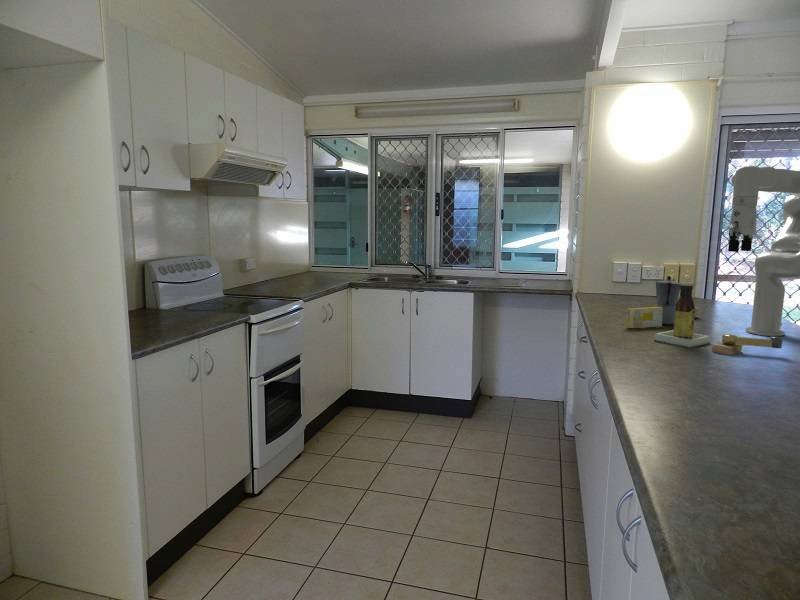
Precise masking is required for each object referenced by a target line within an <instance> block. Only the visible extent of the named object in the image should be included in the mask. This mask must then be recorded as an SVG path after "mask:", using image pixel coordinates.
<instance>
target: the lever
mask: <svg viewBox="0 0 800 600" xmlns="http://www.w3.org/2000/svg"><path fill="white" fill-rule="evenodd" d="M783 340H784V339H783V337H782V336H770V339H767V338H756V337H744V336H743V337H742V336H737V335H736V334H730V333H729V334H728V333H724V334H722V339H721V342H722V343H725V344H739V345H742V346H753V347H763V348H773V349H782V347H783Z"/></svg>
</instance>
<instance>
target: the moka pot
mask: <svg viewBox="0 0 800 600" xmlns="http://www.w3.org/2000/svg"><path fill="white" fill-rule="evenodd" d="M666 278H667V279H665V280H659V281H658V280H657V281H655V291H656V293H655V297H656V301H657V302H656V303H657V304H656V307H663V311H662V325H674V317H675V308H676V302H677V301H678V298H679V295H680V285H682V283H680V282H677V281H675V280H671V278H672V276H670V275H668V276H667V277H666Z"/></svg>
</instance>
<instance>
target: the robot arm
mask: <svg viewBox="0 0 800 600" xmlns="http://www.w3.org/2000/svg"><path fill="white" fill-rule="evenodd" d="M731 184H732V186H733V190H732V191H733V192H732V201H731V208H732V209H731V210H732V211H731V216H730V221H729V222H730V223H729V227H728V232H729V233H728V249H727V252H730V253H732V252H733V253H735V252H736V253H737V252H739V249H740V251H741V252H751V251H752V244H753V240H754V237H753V236H754V235H755V233H756V232H757V231H756V230H757V207H758V199H759V198H758V197H759V192H764V193H765V192H766V193H779V194H780V193H782V194H790V195H788V196H786V198H784V200H783V203H782V213H783V226H782V228H781V229H780V231H779V232H778V233H777V235H776V236H775V238H774V240H773V241H772V244H771V247H770V249H771V251H765V252H762V253H759V254H758V255H757V256H756V258H755V260H754V272H755V284H754V286H755V287H754V294H753V295H754V298H753V305H752V312H751V313H752V314H751V315H752V316H751V325H750V327H746V328H745V332H746V333H749V334H753V335H757V336H758V335H759V336H764V337H765V336H767V337H772V336H775V337H783V336H782V335H784V336H785V335H786V332H785V331H784V330H781V329H782V328H781V327H782V325H783V323H782V320H783V319H782V318H783V312H784V311H783V309H784V301H785V292H786V289H785V288H786V287H785V285H784V283H783V281H782V280H781V278H782V279H784V278H785V279H796V280H800V170H792V169H786V168H775V167H772V166H760V167H759V166H754V165H753V166H752V165H747V166H739V167H738V168H736V169H735V171H734V173H733V174H732V176H731ZM740 237H742V239H741V245H740Z"/></svg>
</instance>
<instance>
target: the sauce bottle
mask: <svg viewBox="0 0 800 600" xmlns="http://www.w3.org/2000/svg"><path fill="white" fill-rule="evenodd" d="M693 290H694V286H693V284H681V285H680V291H679V295H680V298H679V297H678V298H679V300H677V301H676V308H675V317H674V324H673V330H674V332H673V335H674V337H678V338H684V339H689V340H691V339H692V336H693V333H694V326H695V325H694V324H695V317H694V314H695V303H694V302H695V301H694V298H693V299H692V296H693Z"/></svg>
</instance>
